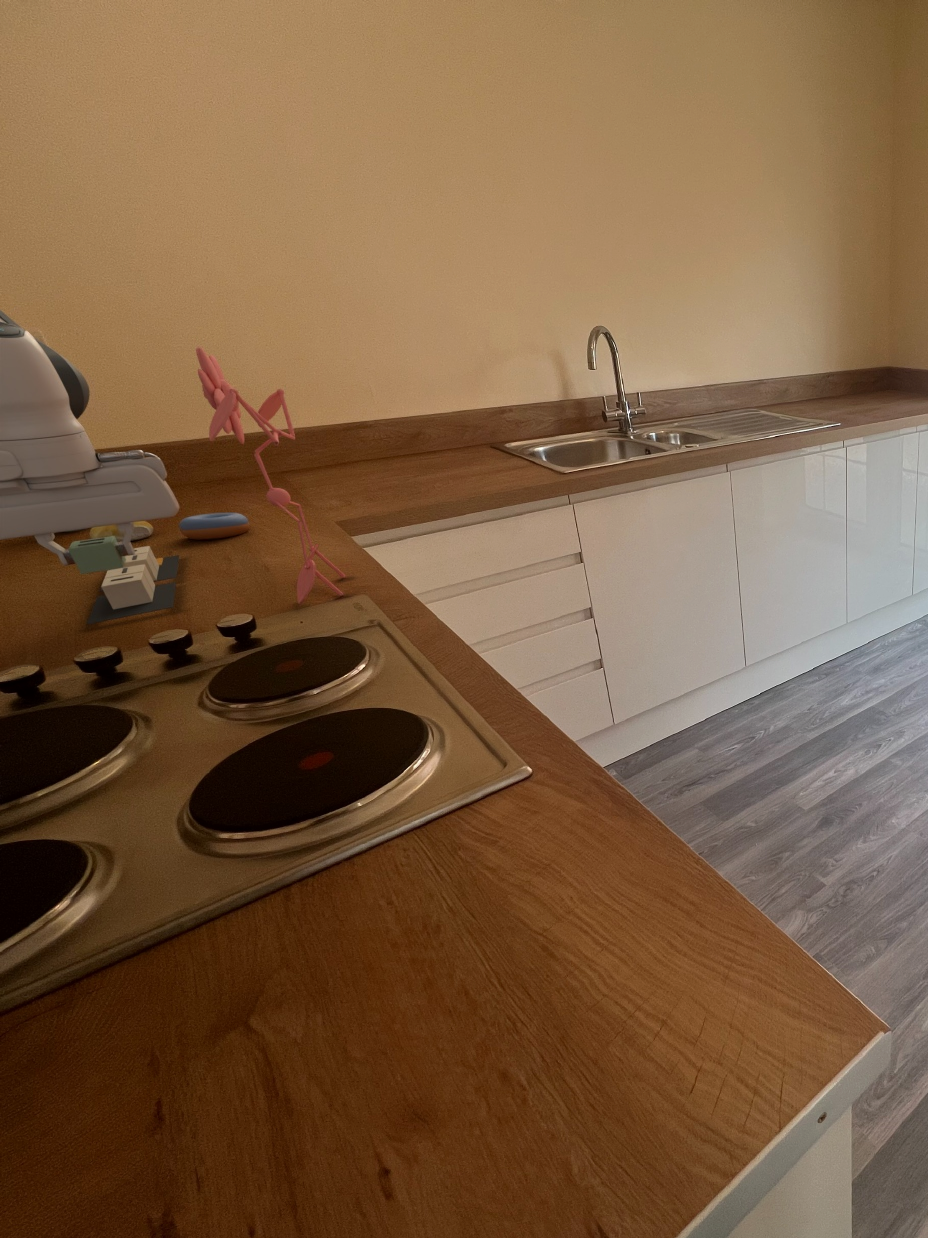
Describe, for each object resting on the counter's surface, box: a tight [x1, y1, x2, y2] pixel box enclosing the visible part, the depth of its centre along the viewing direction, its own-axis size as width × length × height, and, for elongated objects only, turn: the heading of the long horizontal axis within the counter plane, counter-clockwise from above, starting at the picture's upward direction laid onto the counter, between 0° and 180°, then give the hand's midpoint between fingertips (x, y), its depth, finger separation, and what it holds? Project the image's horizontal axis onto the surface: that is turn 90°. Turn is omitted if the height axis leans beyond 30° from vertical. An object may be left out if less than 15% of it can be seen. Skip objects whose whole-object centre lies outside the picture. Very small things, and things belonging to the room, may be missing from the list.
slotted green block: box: [67, 536, 126, 575], centre depth 95 cm, size 4×4×4 cm
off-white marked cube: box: [133, 545, 159, 573], centre depth 113 cm, size 4×4×4 cm
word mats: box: [85, 554, 180, 625], centre depth 109 cm, size 9×31×1 cm, turn 40°
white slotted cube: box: [104, 564, 156, 593], centre depth 105 cm, size 4×4×4 cm
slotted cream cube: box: [112, 553, 158, 582], centre depth 110 cm, size 4×4×4 cm
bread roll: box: [89, 520, 154, 542], centre depth 132 cm, size 8×9×4 cm
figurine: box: [195, 346, 353, 604], centre depth 98 cm, size 15×26×35 cm, turn 32°
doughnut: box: [178, 512, 250, 541], centre depth 132 cm, size 10×10×5 cm
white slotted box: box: [100, 572, 154, 609], centre depth 102 cm, size 4×4×4 cm
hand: (100, 559), depth 96 cm, fingers closed on slotted green block, 4 cm apart
